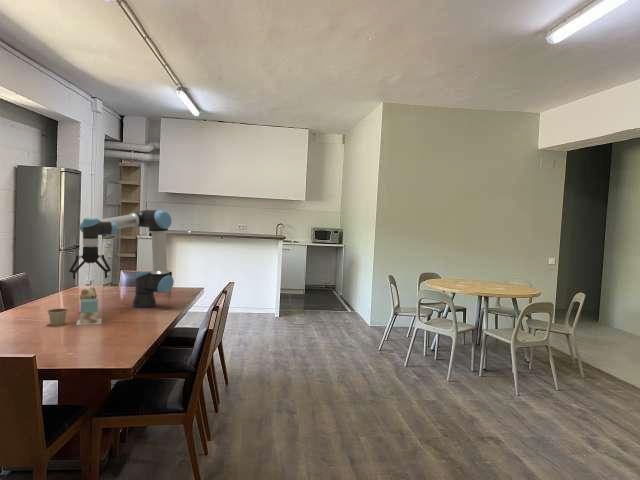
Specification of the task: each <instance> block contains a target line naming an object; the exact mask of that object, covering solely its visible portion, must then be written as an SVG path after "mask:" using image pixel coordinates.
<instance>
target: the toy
mask: <svg viewBox="0 0 640 480" xmlns="http://www.w3.org/2000/svg"><path fill="white" fill-rule="evenodd" d="M80 292H81V293H80V295H79V299H80V301H81V300H82V299H98V298H97V296H98V295H97V292H96V288H95V287H94V286H92V287H90V288H89V289H87V288H83V289H82V290H81V291H80Z"/></svg>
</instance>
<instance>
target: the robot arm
mask: <svg viewBox="0 0 640 480" xmlns="http://www.w3.org/2000/svg"><path fill="white" fill-rule="evenodd" d="M171 225H172V217H171V215H170V213H169V212H167V211H166V210H161V209H143V210H139V211H135V212H130V213H129V214H125V215H118V216H113V217H112V216H111V217H106V218H100V219H98V218H97V217H96V218H94V217H93V218H92V217H91V218H90V217H85V218H83V219H82V222H80V224H79V231H80V232H81V233H82V255H79V254H77V255H76V256H75V260H74V262H73V263H72V265H71V267H70V269H69V273H72V279H73V280H75V281H74V282H75V283H74V284H75V285H74V286H78V272H77V271H78V270H80V269H81V268H82V266H84V265H85V264H95V263H96V264H97V266H98V267H99V268H101V270H102V271H103V273H102V274H103V277H102V279H103V280H102V282H103V285H105V284H106V279H107V278H108V272H111V271H112V270H111V267H110V265H109V263H108V262H107V261H106V259H105V254H100V255H99V247H98V246H99V236H108V235H109V236H111V235H116V234H117V232H118V230H119V229H125V228H130V227H132V228H139V227H140V228H148V232H149V233H150V234H151V250H152V270H150V271H140V272H136V274H135V278H134V279H135V285H134V286H135V291H134V292H135V295H134V297H133V300H132V302H131V303H132V304H131V306H132V307H133V308H139V309H143V308H144V309H145V308H146V309H147V308H153V307H156V306H157V300H156V297H155V296H156V295H155V293H160V294H162V293H163V294H166V293H168V292H170V291H171V290H172V289H173V287H174V283H175V281H174V278H173V276H172V275H170V270H168V265H167V264H168V263H167V261H168V260H167V239H166V238H167V237H166V234H167V232H169V228H170V227H171ZM99 258H100V259H101V260H102V262H103V263H104V265H105V266H104V265H103V264H101V262H100V261H99V260H98V259H99ZM80 259H82V262H80V264H78V266H77V267H76V268H75V266H76V265H77V263H78V261H79V260H80ZM74 268H75V269H74Z"/></svg>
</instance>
